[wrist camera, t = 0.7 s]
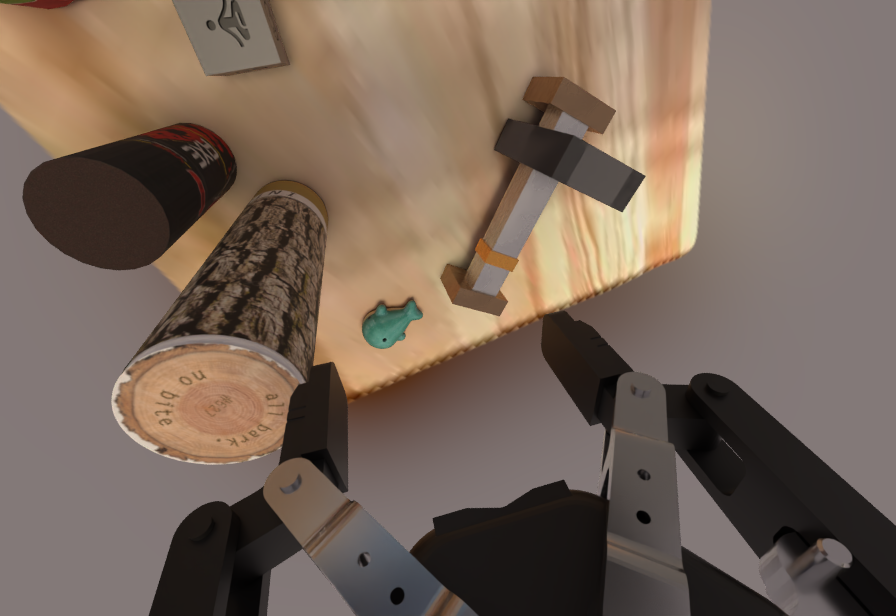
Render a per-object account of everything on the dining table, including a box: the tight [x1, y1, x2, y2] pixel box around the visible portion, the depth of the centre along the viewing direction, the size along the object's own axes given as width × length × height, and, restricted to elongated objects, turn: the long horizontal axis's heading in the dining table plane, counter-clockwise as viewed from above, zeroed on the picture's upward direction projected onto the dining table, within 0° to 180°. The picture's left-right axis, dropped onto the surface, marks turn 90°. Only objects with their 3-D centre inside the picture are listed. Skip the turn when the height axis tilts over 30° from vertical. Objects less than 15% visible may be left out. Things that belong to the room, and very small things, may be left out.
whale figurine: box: [362, 300, 423, 349], centre depth 42 cm, size 6×7×4 cm
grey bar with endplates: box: [440, 77, 616, 316], centre depth 37 cm, size 22×6×6 cm, turn 156°
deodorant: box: [23, 123, 237, 270], centre depth 25 cm, size 6×6×15 cm
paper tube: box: [112, 181, 328, 464], centre depth 25 cm, size 7×7×25 cm
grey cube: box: [172, 0, 290, 76], centre depth 25 cm, size 5×5×5 cm
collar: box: [494, 119, 645, 212], centre depth 32 cm, size 3×7×12 cm, turn 66°
